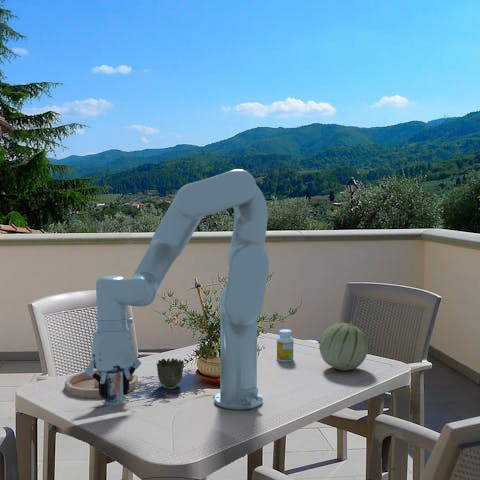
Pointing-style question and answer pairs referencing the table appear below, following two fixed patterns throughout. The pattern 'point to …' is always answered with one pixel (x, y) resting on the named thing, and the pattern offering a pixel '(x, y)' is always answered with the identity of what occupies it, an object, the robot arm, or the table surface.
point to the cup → (170, 372)
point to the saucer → (90, 385)
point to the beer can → (115, 386)
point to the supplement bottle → (285, 346)
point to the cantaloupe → (343, 346)
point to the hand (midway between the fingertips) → (114, 394)
